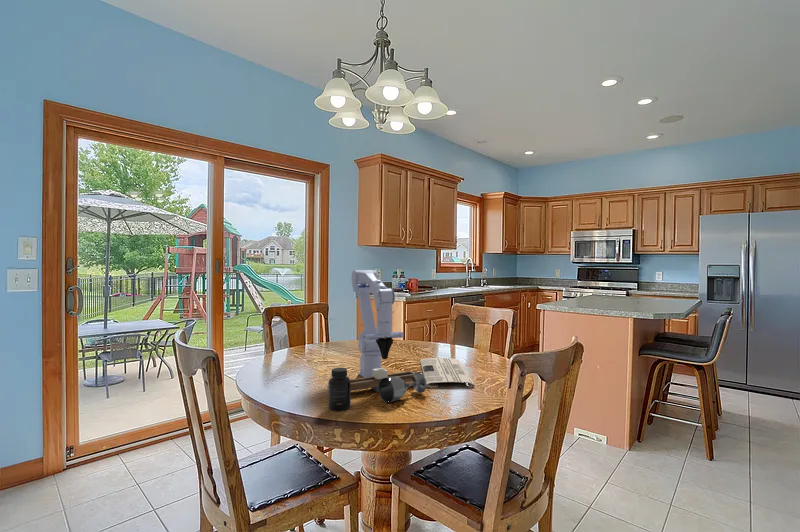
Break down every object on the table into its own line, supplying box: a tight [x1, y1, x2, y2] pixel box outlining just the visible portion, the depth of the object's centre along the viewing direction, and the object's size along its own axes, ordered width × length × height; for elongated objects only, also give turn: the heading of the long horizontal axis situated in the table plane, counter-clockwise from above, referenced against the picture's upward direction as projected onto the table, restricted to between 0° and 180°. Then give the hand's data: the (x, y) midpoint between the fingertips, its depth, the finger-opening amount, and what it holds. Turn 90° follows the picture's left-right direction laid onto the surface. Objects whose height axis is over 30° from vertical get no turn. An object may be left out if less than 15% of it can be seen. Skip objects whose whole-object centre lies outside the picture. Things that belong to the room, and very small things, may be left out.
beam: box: [349, 370, 416, 393], centre depth 144 cm, size 6×28×4 cm, turn 117°
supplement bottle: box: [327, 367, 352, 412], centre depth 126 cm, size 7×7×12 cm
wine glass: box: [378, 371, 427, 404], centre depth 135 cm, size 8×8×15 cm
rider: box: [373, 367, 389, 379], centre depth 144 cm, size 4×4×4 cm
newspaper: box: [419, 357, 476, 389], centre depth 164 cm, size 37×19×3 cm, turn 0°
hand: (384, 358), depth 148 cm, fingers closed
